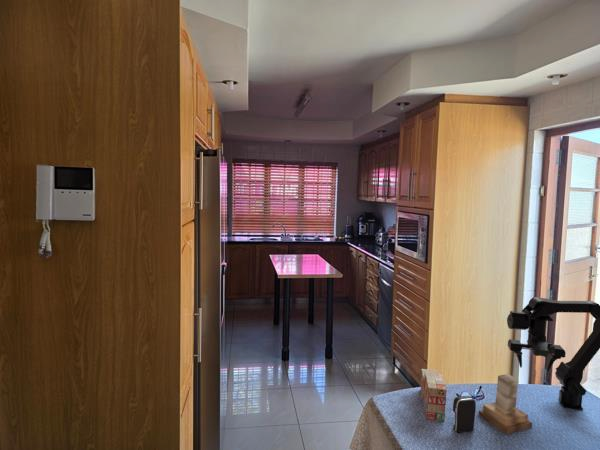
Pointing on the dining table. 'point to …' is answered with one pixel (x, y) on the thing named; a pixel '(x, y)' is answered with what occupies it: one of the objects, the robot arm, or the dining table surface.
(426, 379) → the stack of blocks
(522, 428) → the wooden base plate
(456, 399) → the battery charger
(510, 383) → the ash block
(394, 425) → the dining table surface
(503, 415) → the maple block
